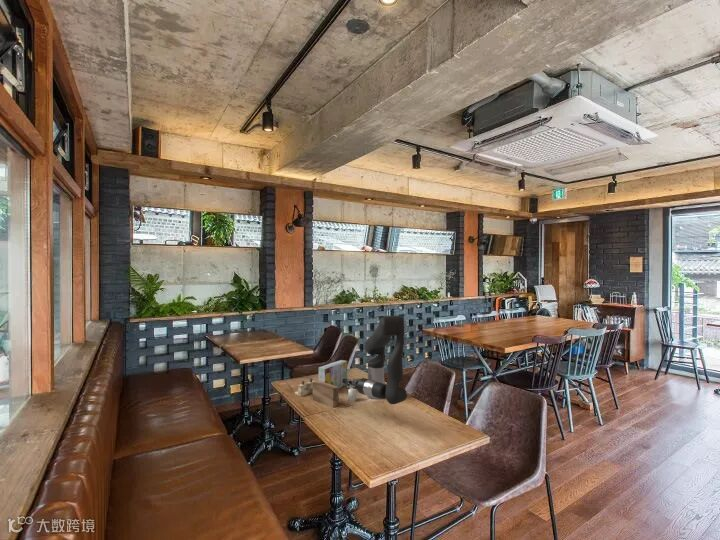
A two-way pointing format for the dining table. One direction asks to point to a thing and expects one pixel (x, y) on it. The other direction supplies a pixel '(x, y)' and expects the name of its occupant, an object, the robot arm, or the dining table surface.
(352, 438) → the dining table surface
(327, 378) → the snack box
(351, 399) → the white rounded piece
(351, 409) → the dining table surface
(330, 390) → the brown rectangular block
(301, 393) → the bench stop
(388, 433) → the dining table surface
